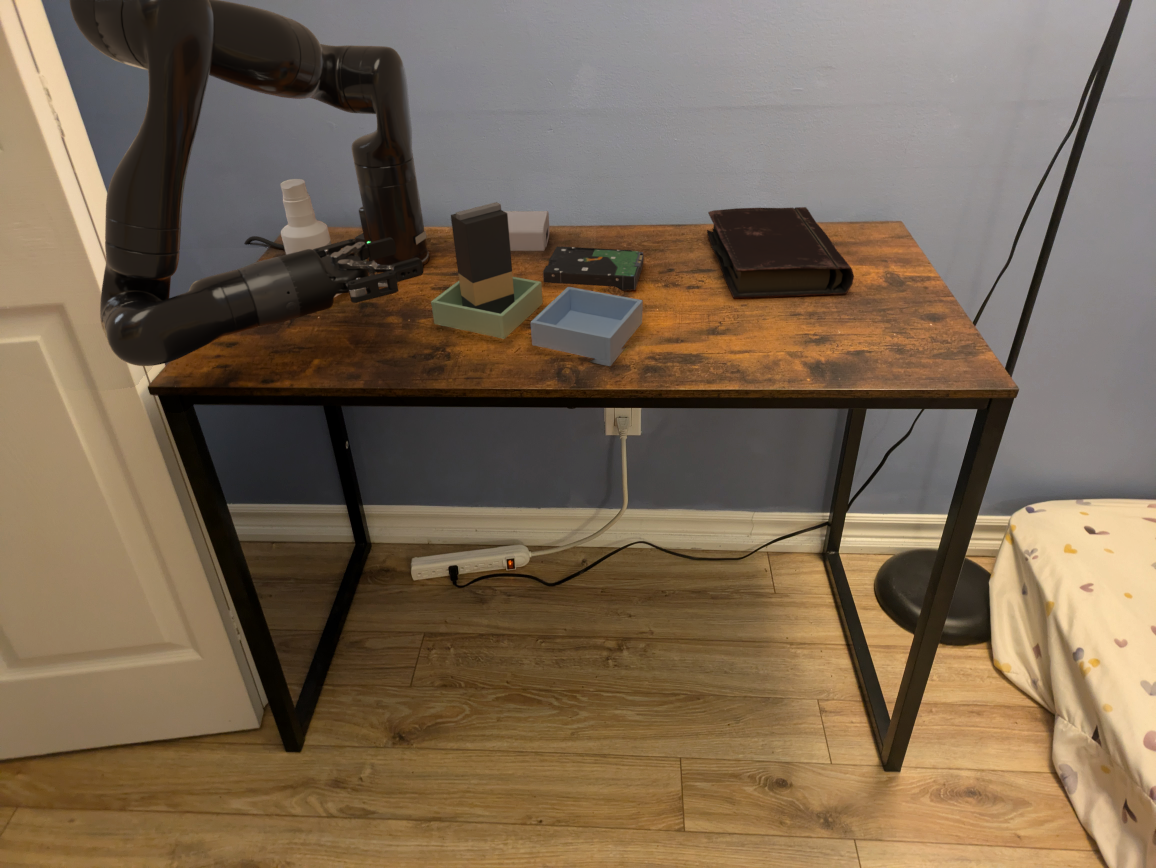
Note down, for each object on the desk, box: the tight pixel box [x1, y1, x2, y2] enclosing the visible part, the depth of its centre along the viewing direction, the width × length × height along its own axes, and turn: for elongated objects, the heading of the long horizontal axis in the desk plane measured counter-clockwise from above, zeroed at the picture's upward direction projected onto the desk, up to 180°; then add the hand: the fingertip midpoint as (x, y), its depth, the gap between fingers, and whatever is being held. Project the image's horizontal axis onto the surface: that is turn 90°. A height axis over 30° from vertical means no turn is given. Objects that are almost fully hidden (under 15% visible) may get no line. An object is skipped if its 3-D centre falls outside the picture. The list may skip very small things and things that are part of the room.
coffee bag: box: [450, 201, 515, 314], centre depth 108 cm, size 4×6×16 cm
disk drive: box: [542, 246, 645, 291], centre depth 123 cm, size 10×3×15 cm
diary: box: [706, 206, 855, 299], centre depth 124 cm, size 19×25×5 cm
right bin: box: [529, 286, 644, 367], centre depth 106 cm, size 12×12×4 cm
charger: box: [503, 210, 550, 252], centre depth 134 cm, size 5×9×15 cm
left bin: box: [430, 276, 544, 340], centre depth 112 cm, size 12×12×4 cm
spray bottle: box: [279, 178, 343, 298], centre depth 115 cm, size 7×7×18 cm
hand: (407, 255), depth 100 cm, fingers open, 8 cm apart
